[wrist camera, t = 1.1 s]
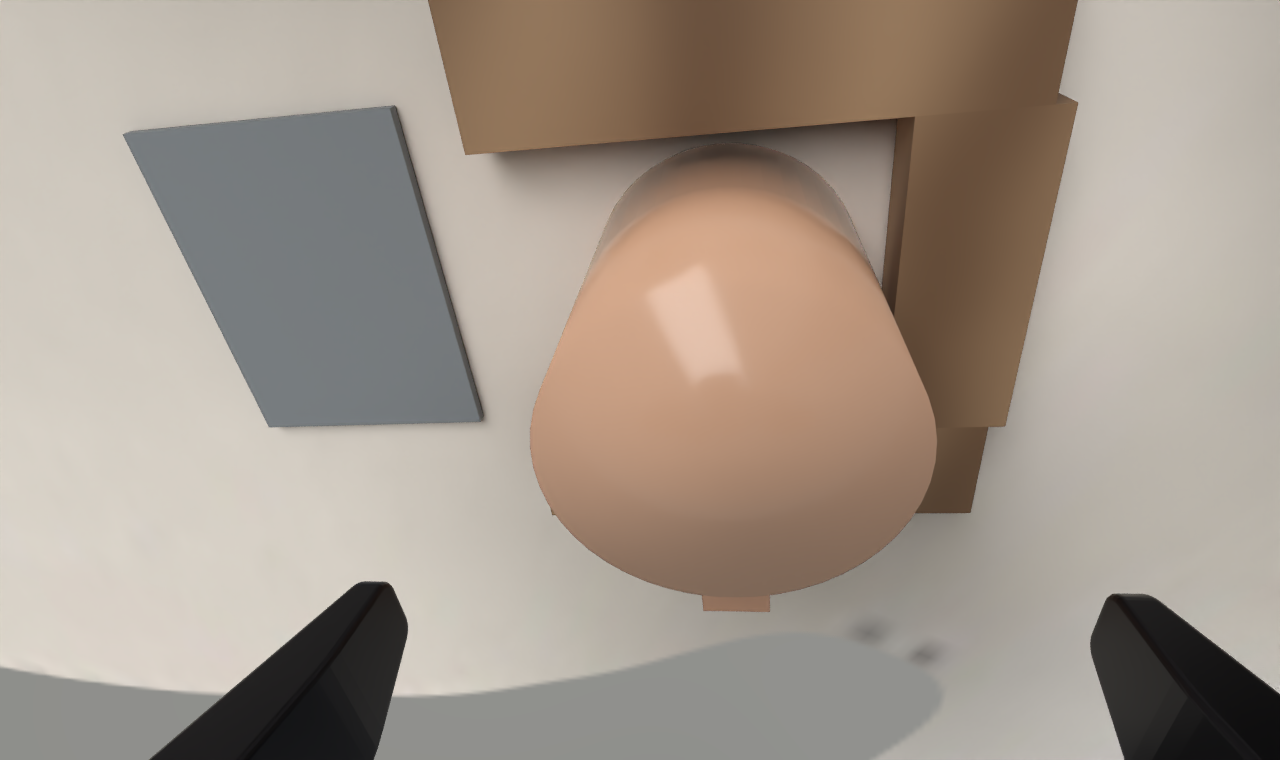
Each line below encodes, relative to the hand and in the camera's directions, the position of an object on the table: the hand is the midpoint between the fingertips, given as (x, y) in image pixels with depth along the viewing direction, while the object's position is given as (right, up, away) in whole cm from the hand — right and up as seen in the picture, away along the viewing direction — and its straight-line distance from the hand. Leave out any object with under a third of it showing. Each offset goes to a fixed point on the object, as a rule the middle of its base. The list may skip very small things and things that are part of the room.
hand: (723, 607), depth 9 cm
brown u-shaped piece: (+1, +6, +9) cm, 10 cm away
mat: (-10, +6, +10) cm, 15 cm away
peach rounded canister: (+1, +4, +10) cm, 11 cm away
